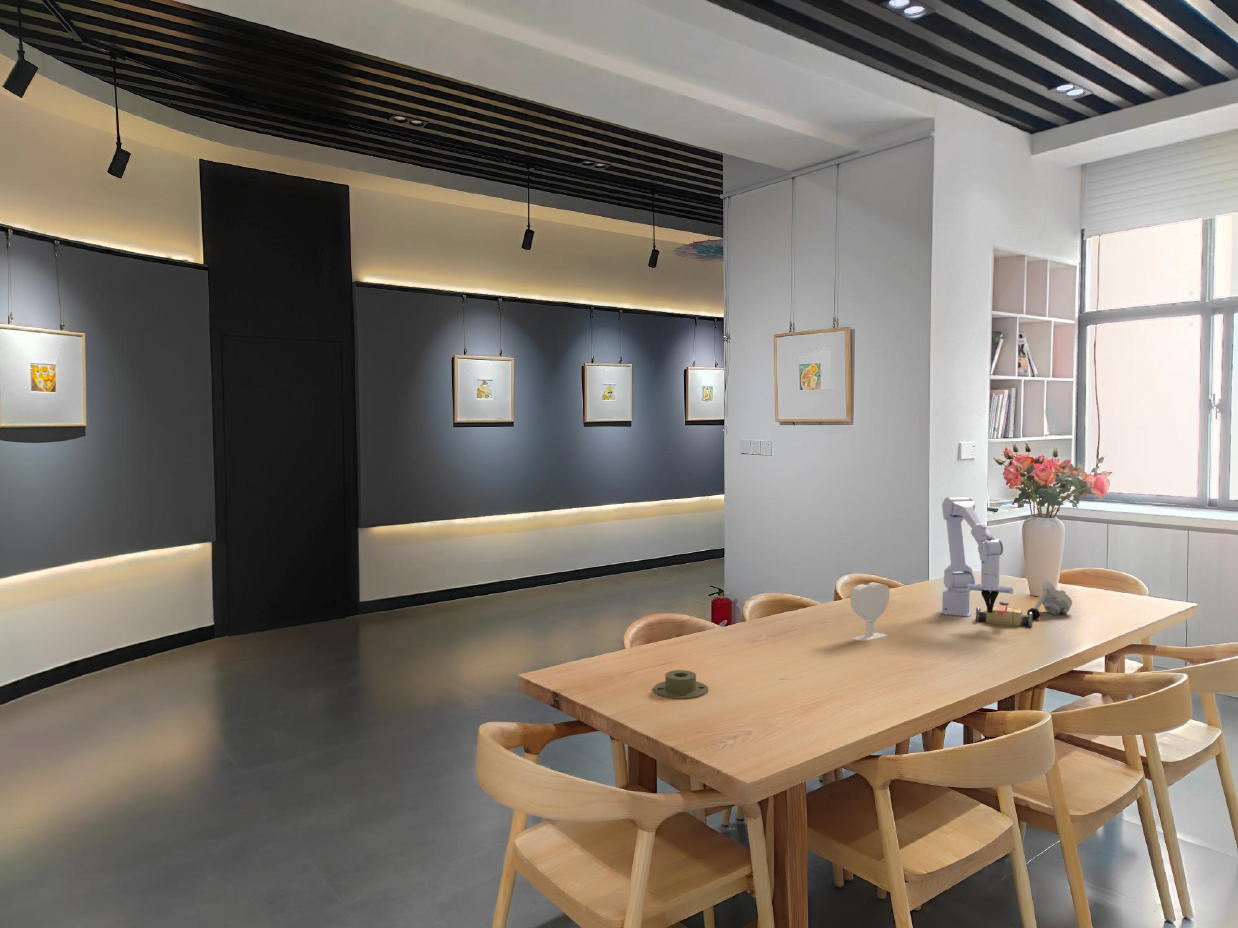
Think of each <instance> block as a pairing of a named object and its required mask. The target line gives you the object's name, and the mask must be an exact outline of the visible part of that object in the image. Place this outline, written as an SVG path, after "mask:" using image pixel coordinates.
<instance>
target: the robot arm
mask: <svg viewBox="0 0 1238 928" xmlns="http://www.w3.org/2000/svg"><path fill="white" fill-rule="evenodd" d="M941 507H942V508H941V509H942V516H943V517H942V518H943V519H944V521H946V530H947V538H948V547H949V548H948V550H949V558H950V565H948V566H947V567H946V568H945V569H944V571H943V572H944V574H943V584H944V587H945V588H946V589H945V588H944V589H943V590H942V602H941V603H942V605H941V608H942V609H941V611H942V612H941V614H942V615H950V616H951V615H952V616H958V617H959V616H961V617H970V616H971V614H972V612H973V611H972V610H970V605H971V603H970V596H971V595H970V594H971V593H970V592H971V591H978V592H980V594H981V597H982V598H983V601H984V602H985V605H986V611H988V613H992V612H993V607H995V602H996V600H997V598H998V595H999V594H1000V593H1001V594H1010V595H1013V594H1014V587H1011V586H1010V587H1009V586H1004V585H1000V556H1002V554H1003V552H1004V546H1003V543H1002V541H1001V539H998V538H997V537H994V535H993V534H992V533H991V531H990V529H989V528H988V526H987V525H986V524H983V523H982V522H981V520H980V518H979V517H978V515H977V513H976V511H975V508H976V504H975V502H974V500H973V498H972V497H971V496H967V497H966V496H965V497H964V496H961V497H949V496H948V497H945V498H944V500H943V502H942V504H941ZM963 521H965V522H966V523H967V524H968V526H969V527H970V528H971V529H970V530H971V531H970V534H971V536H972V537H973V539H974V540H975V541H976V543H977V545H978V546H977V552H978V554H979V560H980V562H981V570H980V571H981V572H980V573H981V574H980V575H981V576H980V577H981V578H980V579H981V581H980V582H981V583H980V584H978V583H977V584H976V578H975V576H974V575H975V574H974V573H973V572H974V571H973V569H972V567H970V566H969V565H968V564H967V563H966V557H965V549H964V548H965V547H964V540H963V539H964V537H963V527H962V522H963Z"/></svg>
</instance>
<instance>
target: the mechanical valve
mask: <svg viewBox="0 0 1238 928" xmlns="http://www.w3.org/2000/svg"><path fill="white" fill-rule="evenodd" d="M1041 587H1042V592H1041V594H1040V596H1039V598H1038V599H1037V601H1036V604H1035V605H1034V607H1031V608H1029V609H1028V610H1027V612H1026V615H1029V612H1032V613H1033V621H1035V620H1038V619H1039V618H1040V617H1041V612H1040V610H1039V609H1040V607H1041V605H1042V606H1043V607H1044V609H1045V611H1046V612H1047V613H1049V614H1051V615H1059V614H1067V613H1068V612H1069V611H1070V609H1071V607H1072V605H1073V600H1072V598H1071V596H1069V595H1068V594H1067V593H1066V590H1063V589H1062V590H1061V589H1060V590H1059V589H1056V587H1055V585H1054V584H1053V582H1051V581H1049V580H1048V581H1044V582H1042V585H1041Z"/></svg>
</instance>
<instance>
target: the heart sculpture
mask: <svg viewBox="0 0 1238 928" xmlns="http://www.w3.org/2000/svg"><path fill="white" fill-rule="evenodd" d="M849 592H850V593H849V601H850V605H851V608H852V610H853V612H854V613H855V614H856V615H857V616H858V617H860V618H862V619H863V620H864V621H865V622H866V624H865V625H866V627H865V629H866V632H865V634H862V635H857V636H854V637H852V638H853V639H854V640H856V641H859V642H860V641H861V642H866V641H869V640H874V639H878V638H883V637H884V638H885V637H887V636H888V634H885V633H882V632H875V631H874V629H875V627H874V625H875V624H874V623H875V622H876V621H877V620H878V619H879V618H880V617H881V615H883V613H884V612H885V610H886V608H887V607H888V604H889V600H890V587H889V586H888V584H887V585H886V584H883V583H877V582H874V581H873V582H869V583H868V584H862V583H861V584H858V585H856V586H854V587H853V588H851V590H850V591H849Z"/></svg>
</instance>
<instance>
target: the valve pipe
mask: <svg viewBox="0 0 1238 928" xmlns="http://www.w3.org/2000/svg"><path fill="white" fill-rule="evenodd" d="M999 607H1000V606H993V612H992V613H988V611H987V610H985V611H984V610H981V607H979V606H977V607H976V609H975V622H976V623H980V622H986V623H987V624H993V625H1001V626H1016V627H1021V626H1028V628H1032V627H1033V623H1034V622H1033V621H1034V620H1033V613H1032V612H1029V615H1027V614H1022V613H1023V611H1022V609H1018V608H1017V609H1016V608H1012V607H1007V610H1006V613H1005V615H998V609H999Z"/></svg>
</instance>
